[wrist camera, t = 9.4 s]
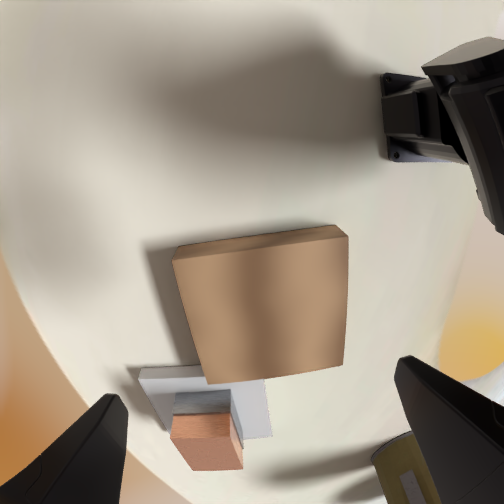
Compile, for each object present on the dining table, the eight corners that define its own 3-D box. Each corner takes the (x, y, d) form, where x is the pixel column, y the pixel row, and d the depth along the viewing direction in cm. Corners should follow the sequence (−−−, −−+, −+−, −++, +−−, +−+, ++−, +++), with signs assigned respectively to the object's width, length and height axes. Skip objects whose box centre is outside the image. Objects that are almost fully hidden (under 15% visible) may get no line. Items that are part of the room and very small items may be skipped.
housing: (242, 430, 26) (244, 469, 21) (195, 432, 26) (192, 471, 21) (230, 389, 23) (230, 435, 18) (175, 392, 23) (168, 436, 18)
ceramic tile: (261, 358, 24) (262, 370, 22) (271, 425, 28) (272, 436, 26) (141, 367, 24) (137, 378, 22) (176, 431, 28) (174, 442, 26)
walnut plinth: (335, 224, 20) (348, 236, 17) (334, 346, 24) (342, 364, 21) (178, 246, 20) (171, 260, 17) (209, 364, 24) (207, 384, 21)
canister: (431, 437, 35) (470, 519, 16) (380, 467, 37) (409, 551, 18) (420, 420, 31) (469, 521, 13) (361, 455, 33) (394, 558, 15)
